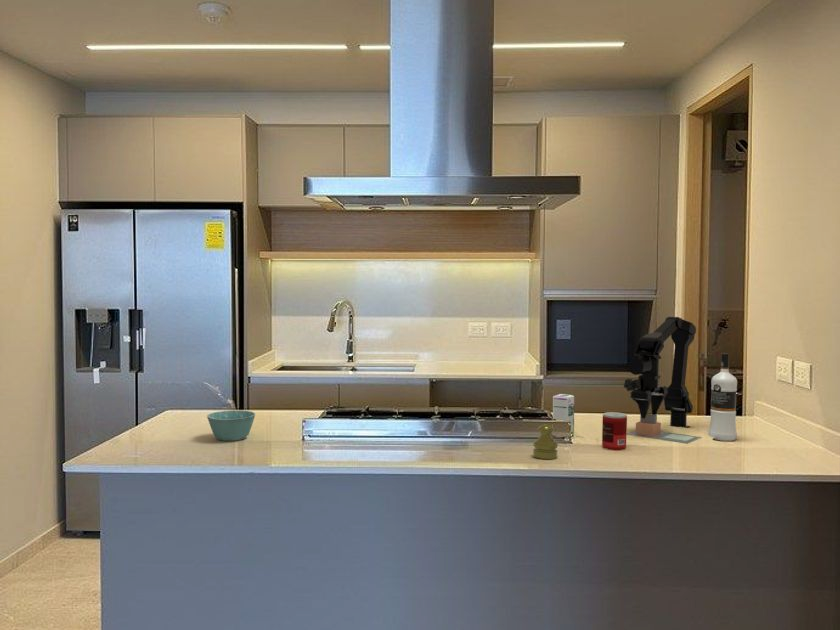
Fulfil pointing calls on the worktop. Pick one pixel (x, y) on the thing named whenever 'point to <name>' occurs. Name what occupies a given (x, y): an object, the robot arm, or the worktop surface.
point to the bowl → (231, 424)
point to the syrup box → (564, 409)
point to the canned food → (614, 430)
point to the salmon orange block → (648, 425)
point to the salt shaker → (545, 444)
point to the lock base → (669, 437)
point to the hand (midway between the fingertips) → (648, 416)
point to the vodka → (723, 403)
